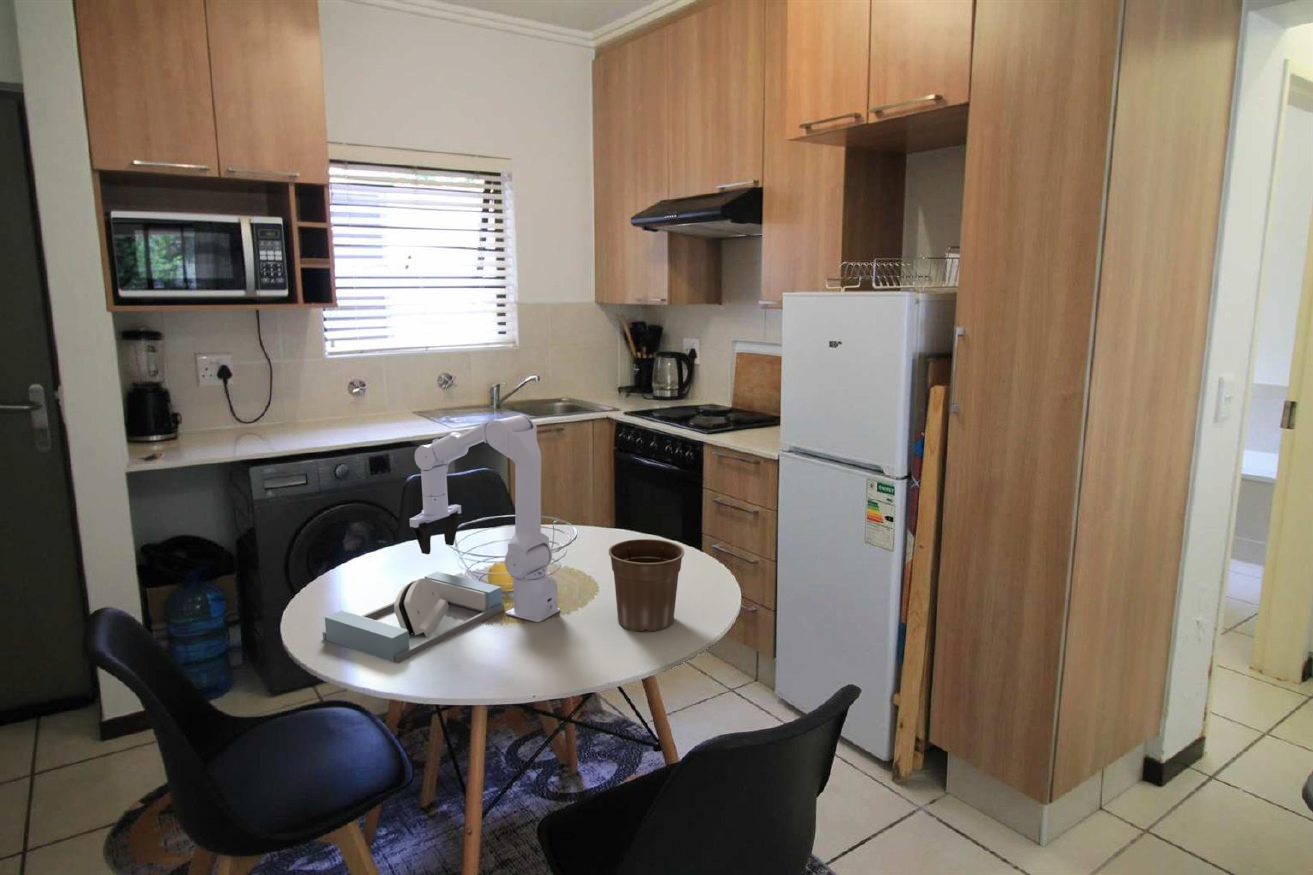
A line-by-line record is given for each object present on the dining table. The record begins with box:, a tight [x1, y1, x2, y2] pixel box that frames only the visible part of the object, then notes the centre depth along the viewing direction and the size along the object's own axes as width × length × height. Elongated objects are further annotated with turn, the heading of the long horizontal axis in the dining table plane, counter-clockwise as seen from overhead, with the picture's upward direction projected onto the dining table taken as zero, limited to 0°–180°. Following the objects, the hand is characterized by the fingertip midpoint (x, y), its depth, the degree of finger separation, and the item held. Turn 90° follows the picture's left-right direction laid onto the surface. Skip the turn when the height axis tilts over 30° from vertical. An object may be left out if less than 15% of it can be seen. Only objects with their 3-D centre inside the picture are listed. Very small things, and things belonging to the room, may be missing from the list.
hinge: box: [393, 577, 450, 639], centre depth 171 cm, size 17×5×10 cm, turn 179°
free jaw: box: [424, 571, 503, 613], centre depth 181 cm, size 20×4×5 cm, turn 59°
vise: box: [322, 601, 505, 664], centre depth 170 cm, size 22×30×5 cm
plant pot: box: [607, 538, 685, 632], centre depth 170 cm, size 16×16×16 cm
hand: (438, 549), depth 189 cm, fingers open, 7 cm apart
